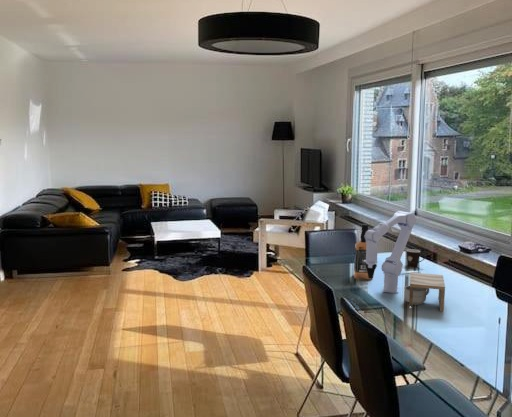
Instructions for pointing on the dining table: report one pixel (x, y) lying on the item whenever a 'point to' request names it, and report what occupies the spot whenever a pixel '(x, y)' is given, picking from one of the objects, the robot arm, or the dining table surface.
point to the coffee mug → (413, 257)
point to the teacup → (416, 294)
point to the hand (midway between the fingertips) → (370, 278)
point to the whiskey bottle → (361, 257)
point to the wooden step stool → (428, 285)
